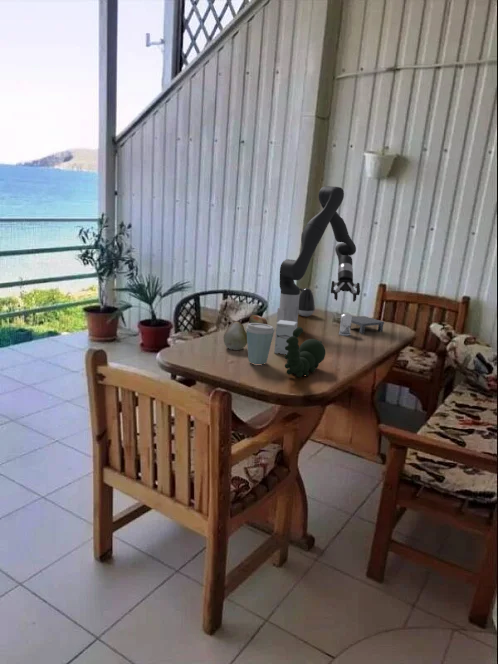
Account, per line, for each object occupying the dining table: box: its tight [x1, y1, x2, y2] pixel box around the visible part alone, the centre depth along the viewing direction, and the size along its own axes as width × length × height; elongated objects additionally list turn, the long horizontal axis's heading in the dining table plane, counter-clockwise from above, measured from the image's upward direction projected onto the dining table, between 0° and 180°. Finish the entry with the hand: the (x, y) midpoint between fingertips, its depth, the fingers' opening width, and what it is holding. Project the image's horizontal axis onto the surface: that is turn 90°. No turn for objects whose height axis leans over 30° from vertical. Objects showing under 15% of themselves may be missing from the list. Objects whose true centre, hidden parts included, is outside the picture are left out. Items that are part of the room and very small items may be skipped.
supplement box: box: [273, 320, 298, 355], centre depth 204 cm, size 7×7×13 cm
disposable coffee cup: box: [245, 322, 275, 364], centre depth 187 cm, size 11×11×15 cm
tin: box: [248, 314, 269, 325], centre depth 232 cm, size 15×3×8 cm, turn 25°
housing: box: [338, 313, 353, 337], centre depth 240 cm, size 6×6×10 cm
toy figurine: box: [284, 326, 326, 378], centre depth 179 cm, size 10×19×26 cm
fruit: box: [223, 319, 248, 351], centre depth 205 cm, size 10×9×12 cm
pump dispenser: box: [298, 287, 316, 317], centre depth 278 cm, size 10×10×15 cm
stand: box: [351, 315, 385, 335], centre depth 253 cm, size 14×14×5 cm
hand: (345, 300), depth 249 cm, fingers open, 8 cm apart
